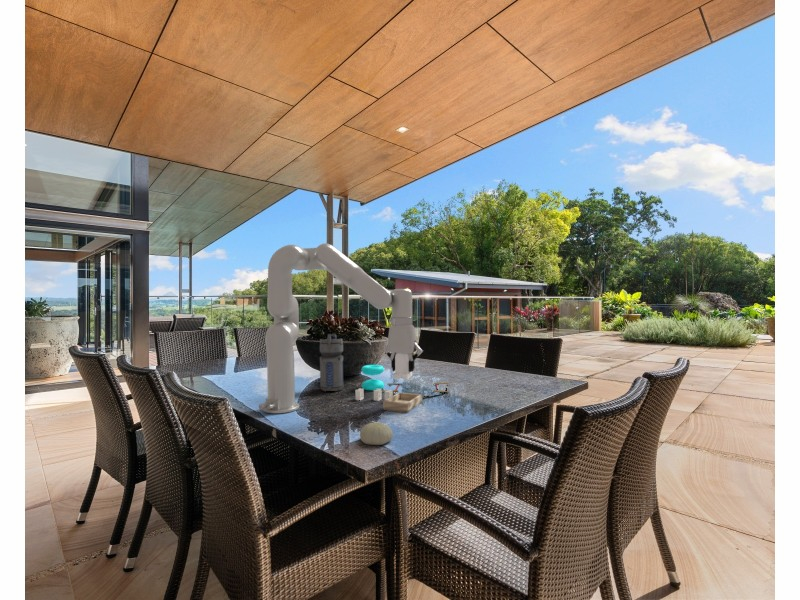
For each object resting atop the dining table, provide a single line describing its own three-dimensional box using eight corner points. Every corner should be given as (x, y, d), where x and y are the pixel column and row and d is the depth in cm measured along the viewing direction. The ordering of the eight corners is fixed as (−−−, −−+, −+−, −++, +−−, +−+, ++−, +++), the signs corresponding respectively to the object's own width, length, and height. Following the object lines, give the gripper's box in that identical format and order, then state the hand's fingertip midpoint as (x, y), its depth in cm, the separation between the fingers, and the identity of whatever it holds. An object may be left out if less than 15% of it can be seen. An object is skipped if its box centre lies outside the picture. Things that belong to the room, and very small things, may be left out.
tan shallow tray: (407, 412, 141) (407, 403, 141) (383, 409, 145) (382, 401, 145) (422, 402, 154) (422, 394, 154) (399, 400, 158) (399, 392, 158)
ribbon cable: (450, 401, 156) (449, 384, 186) (450, 399, 156) (449, 382, 186) (376, 401, 159) (386, 384, 189) (376, 399, 159) (386, 382, 189)
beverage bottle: (346, 386, 185) (345, 331, 185) (341, 392, 172) (340, 334, 172) (324, 386, 185) (323, 331, 185) (317, 393, 172) (316, 334, 172)
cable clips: (387, 403, 154) (387, 392, 154) (355, 400, 159) (355, 389, 159) (393, 400, 158) (393, 390, 158) (361, 397, 164) (361, 387, 164)
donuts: (360, 364, 184) (382, 363, 185) (361, 386, 184) (383, 385, 185) (361, 368, 174) (384, 367, 175) (362, 391, 174) (385, 390, 176)
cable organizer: (412, 374, 154) (412, 348, 154) (407, 379, 144) (407, 351, 144) (399, 374, 155) (398, 348, 155) (393, 379, 145) (392, 351, 145)
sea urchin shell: (382, 426, 120) (390, 412, 115) (390, 451, 116) (400, 437, 111) (353, 431, 116) (360, 416, 111) (361, 457, 111) (369, 443, 106)
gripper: (376, 322, 149) (377, 371, 150) (420, 323, 143) (421, 374, 143) (385, 321, 156) (386, 368, 156) (427, 321, 150) (428, 370, 150)
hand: (403, 370), depth 150 cm, fingers closed on cable organizer, 5 cm apart
